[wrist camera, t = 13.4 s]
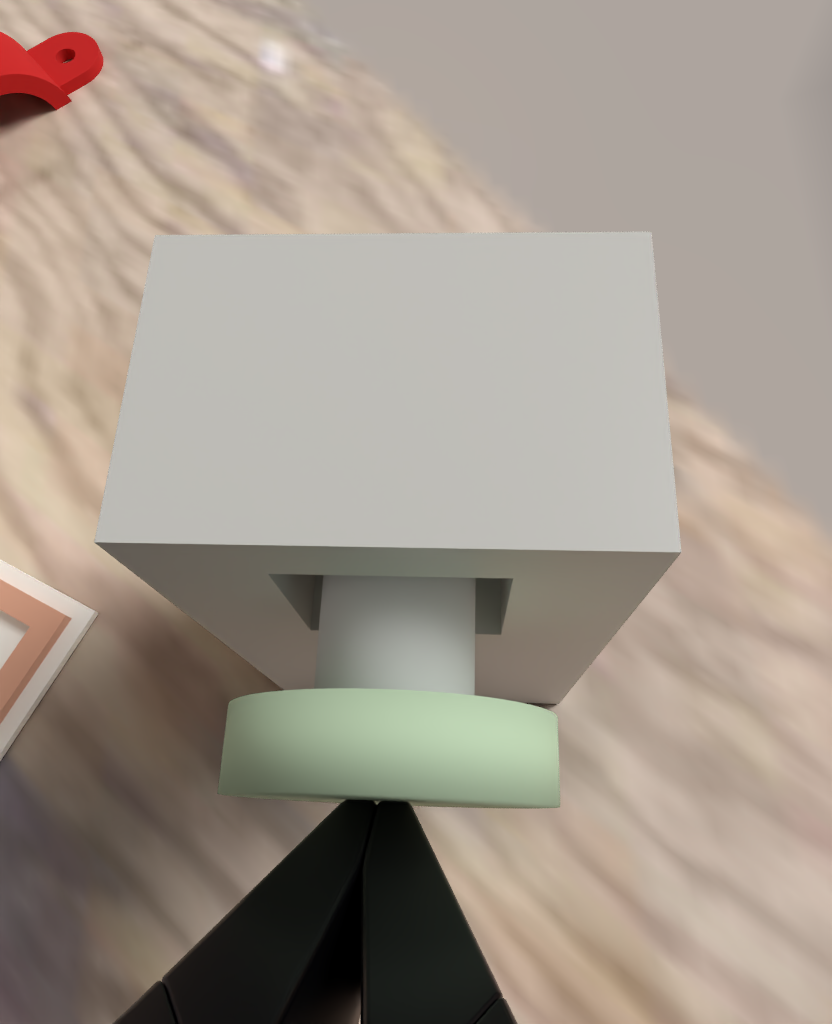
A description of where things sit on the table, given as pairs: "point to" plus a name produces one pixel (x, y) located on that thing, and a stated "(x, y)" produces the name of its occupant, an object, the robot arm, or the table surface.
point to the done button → (393, 711)
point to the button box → (399, 438)
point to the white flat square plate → (32, 644)
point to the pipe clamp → (49, 66)
